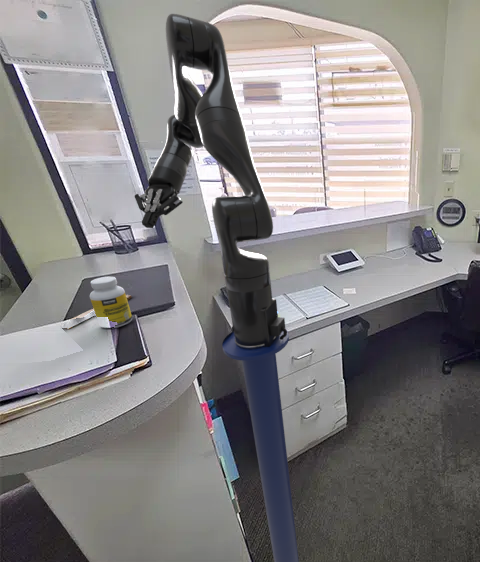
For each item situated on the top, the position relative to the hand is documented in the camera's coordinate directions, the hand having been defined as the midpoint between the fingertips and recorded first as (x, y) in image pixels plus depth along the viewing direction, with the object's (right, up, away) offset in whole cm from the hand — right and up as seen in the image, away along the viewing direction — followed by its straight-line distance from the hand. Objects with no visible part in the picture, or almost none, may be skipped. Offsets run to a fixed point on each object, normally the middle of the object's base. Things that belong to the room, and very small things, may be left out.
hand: (147, 226), depth 81 cm
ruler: (-14, -23, +1) cm, 26 cm away
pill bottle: (-4, -25, -4) cm, 26 cm away
